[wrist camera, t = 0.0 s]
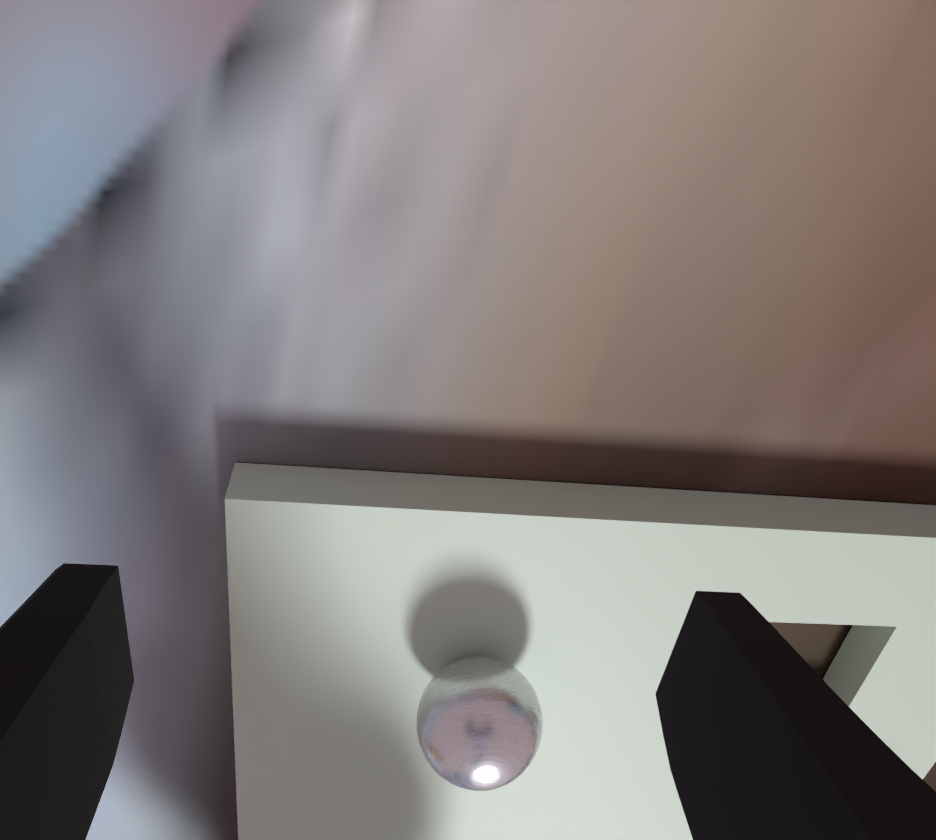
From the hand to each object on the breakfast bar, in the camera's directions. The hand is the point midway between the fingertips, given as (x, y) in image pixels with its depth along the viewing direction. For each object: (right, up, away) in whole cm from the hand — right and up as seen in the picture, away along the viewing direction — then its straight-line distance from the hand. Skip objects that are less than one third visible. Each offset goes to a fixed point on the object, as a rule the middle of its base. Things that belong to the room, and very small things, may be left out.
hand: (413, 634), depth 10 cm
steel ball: (+1, -6, +12) cm, 13 cm away
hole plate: (+5, -6, +16) cm, 18 cm away
